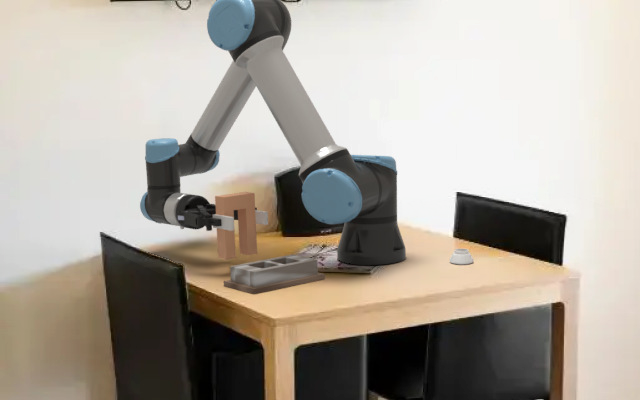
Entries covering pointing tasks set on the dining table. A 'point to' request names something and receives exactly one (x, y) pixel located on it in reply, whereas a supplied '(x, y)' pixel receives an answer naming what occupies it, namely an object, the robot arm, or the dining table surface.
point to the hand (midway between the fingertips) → (249, 221)
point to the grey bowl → (461, 257)
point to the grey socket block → (273, 274)
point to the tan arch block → (245, 224)
